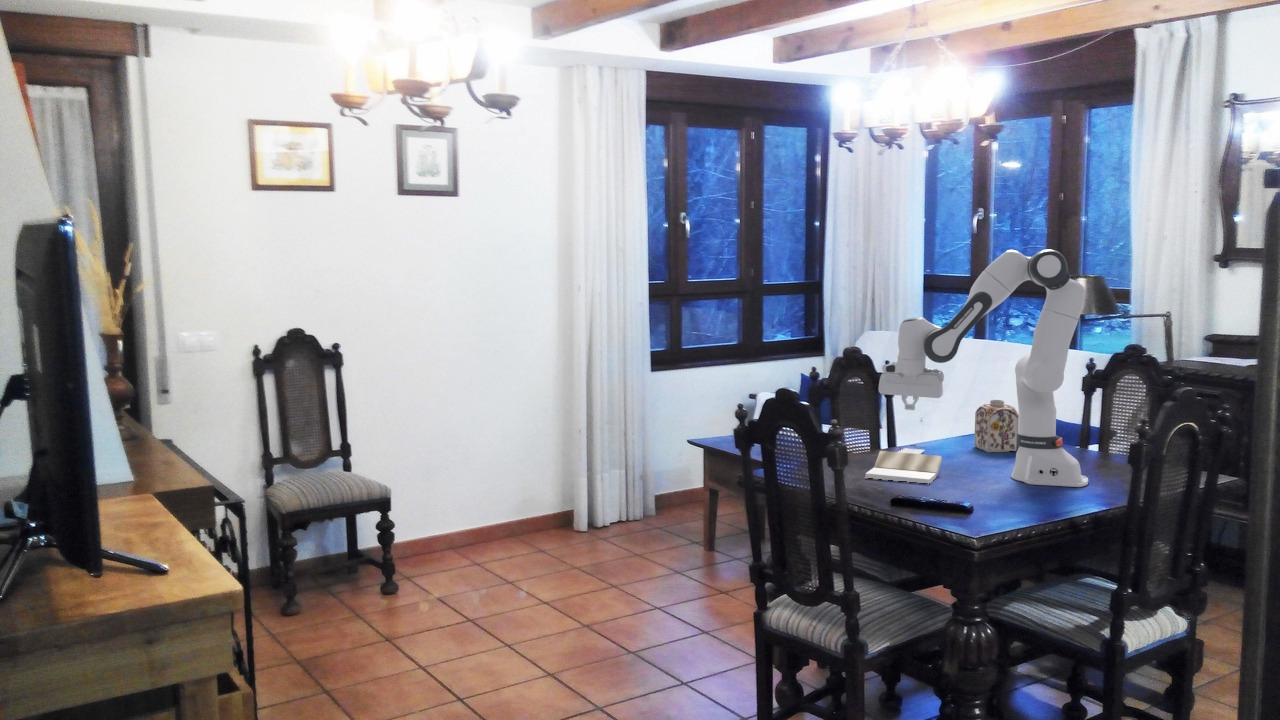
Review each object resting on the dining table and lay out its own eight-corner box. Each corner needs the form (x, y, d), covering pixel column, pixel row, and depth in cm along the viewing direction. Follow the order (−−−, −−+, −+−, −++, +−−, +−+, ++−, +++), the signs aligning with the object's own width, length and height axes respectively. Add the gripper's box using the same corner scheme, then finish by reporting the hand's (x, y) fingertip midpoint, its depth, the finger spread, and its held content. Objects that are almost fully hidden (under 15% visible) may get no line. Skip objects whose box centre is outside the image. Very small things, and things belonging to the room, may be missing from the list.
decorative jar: (973, 447, 379) (974, 398, 377) (1003, 446, 380) (1005, 397, 379) (987, 453, 367) (989, 403, 366) (1019, 452, 369) (1020, 402, 367)
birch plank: (941, 459, 334) (941, 455, 333) (936, 476, 329) (936, 472, 328) (880, 454, 344) (880, 450, 343) (874, 470, 338) (874, 466, 337)
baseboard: (873, 466, 348) (903, 469, 344) (873, 458, 348) (903, 461, 343) (897, 451, 375) (925, 453, 370) (897, 443, 374) (925, 446, 370)
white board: (936, 478, 328) (936, 473, 327) (929, 484, 319) (929, 479, 319) (873, 472, 337) (873, 467, 337) (865, 478, 328) (865, 473, 328)
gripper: (946, 368, 332) (944, 410, 334) (883, 364, 342) (881, 406, 343) (941, 370, 327) (940, 413, 328) (877, 366, 336) (876, 408, 338)
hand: (909, 409), depth 336 cm, fingers closed
